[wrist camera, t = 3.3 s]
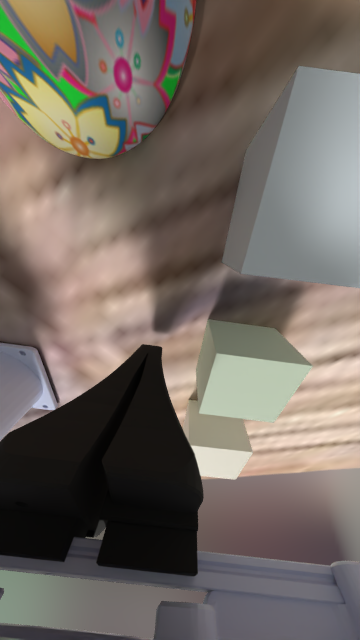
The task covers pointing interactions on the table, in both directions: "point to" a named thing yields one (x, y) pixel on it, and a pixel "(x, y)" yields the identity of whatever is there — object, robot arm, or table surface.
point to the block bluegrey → (302, 185)
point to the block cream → (217, 442)
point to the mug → (93, 68)
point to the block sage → (247, 371)
